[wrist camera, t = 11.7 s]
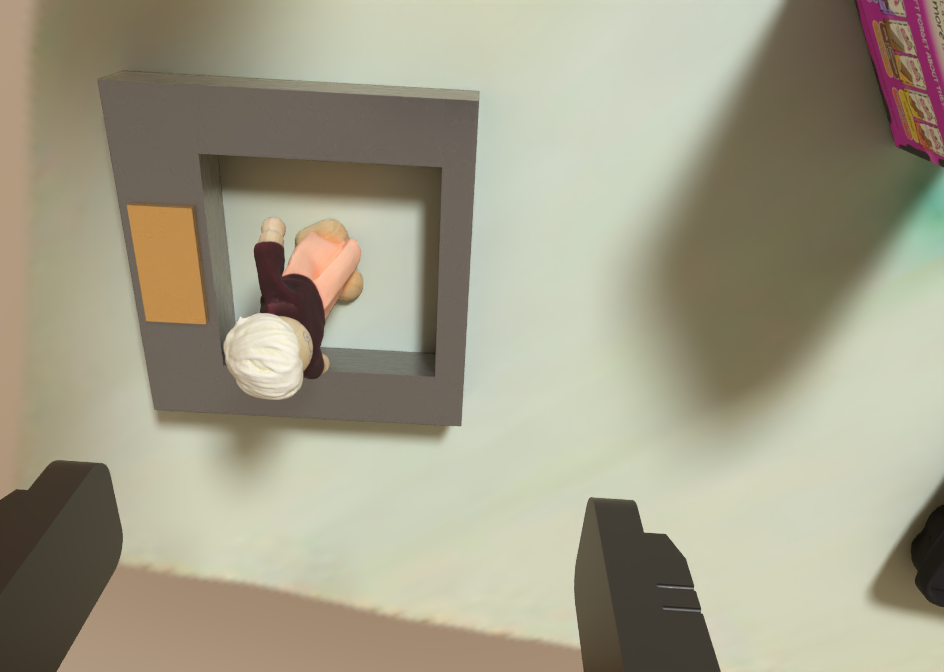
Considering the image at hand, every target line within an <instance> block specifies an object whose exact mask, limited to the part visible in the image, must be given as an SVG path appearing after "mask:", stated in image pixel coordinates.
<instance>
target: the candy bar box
mask: <svg viewBox="0 0 944 672" xmlns="http://www.w3.org/2000/svg"><path fill="white" fill-rule="evenodd" d="M855 3H856V7H857V10H858V14H859V17H860V21H861V24H862V27H863V31H864V34H865V38H866V41H867V45H868V48H869V52H870V56H871V59H872V63H873V66H874V70H875V73H876V77H877V81H878V84H879V87H880V91H881V94H882V98H883V101H884V105H885V108H886V112H887V116H888V119H889V123H890V127H891V130H892V134H893V137H894V141H895V144H896V147H897V148H900V149H903V150H906V151H908V152H910V153H912V154H914V155H917V156H919V157H921V158H923V159H926V160H928V161H931V162H932V163H934V164H936V165H939V166H941V167H944V0H855Z"/></svg>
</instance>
